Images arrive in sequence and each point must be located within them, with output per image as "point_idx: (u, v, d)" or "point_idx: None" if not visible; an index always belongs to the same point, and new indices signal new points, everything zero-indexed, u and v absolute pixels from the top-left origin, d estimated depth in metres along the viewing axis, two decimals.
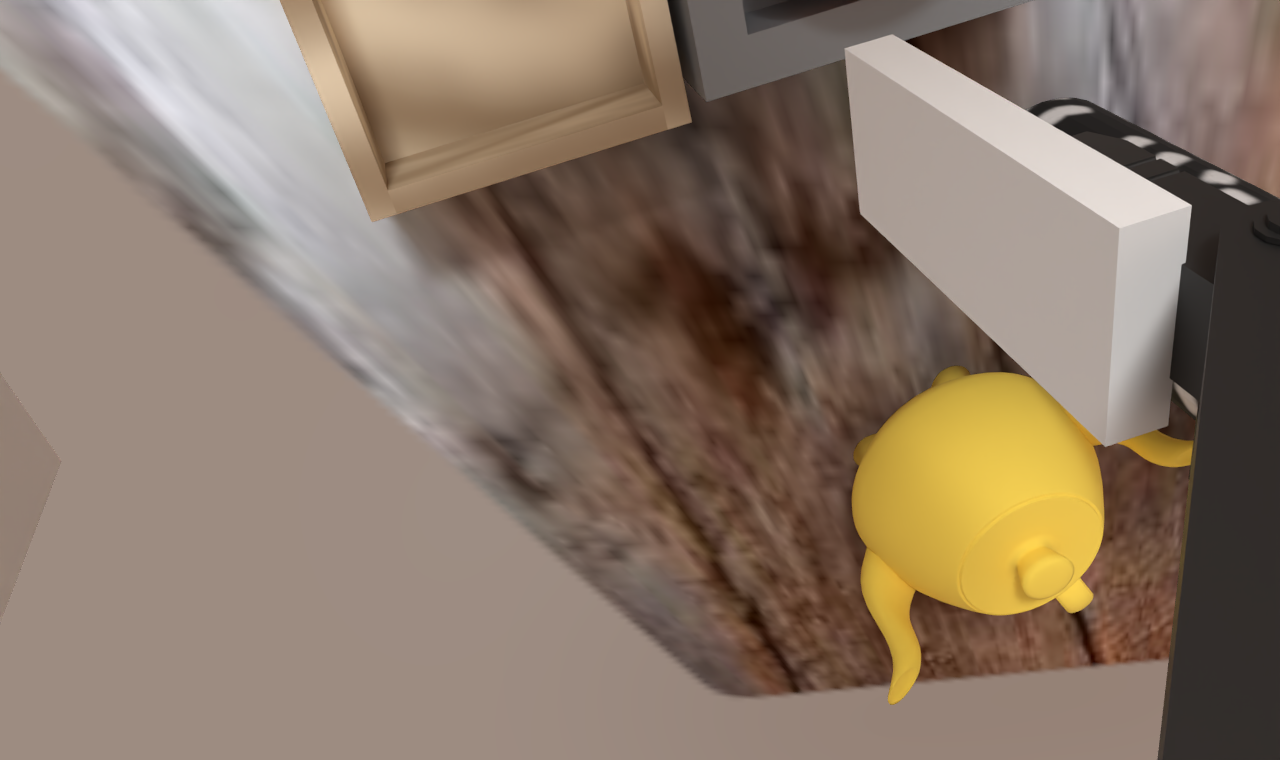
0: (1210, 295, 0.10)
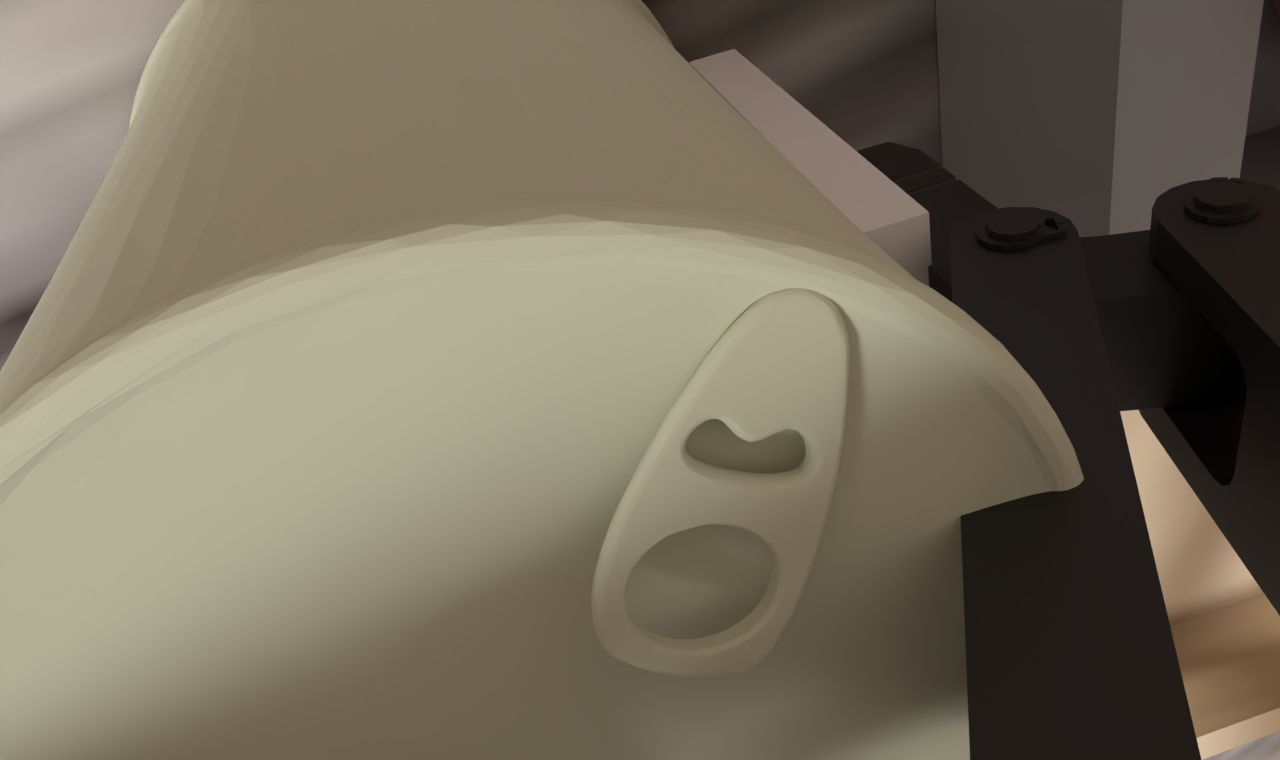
0: None
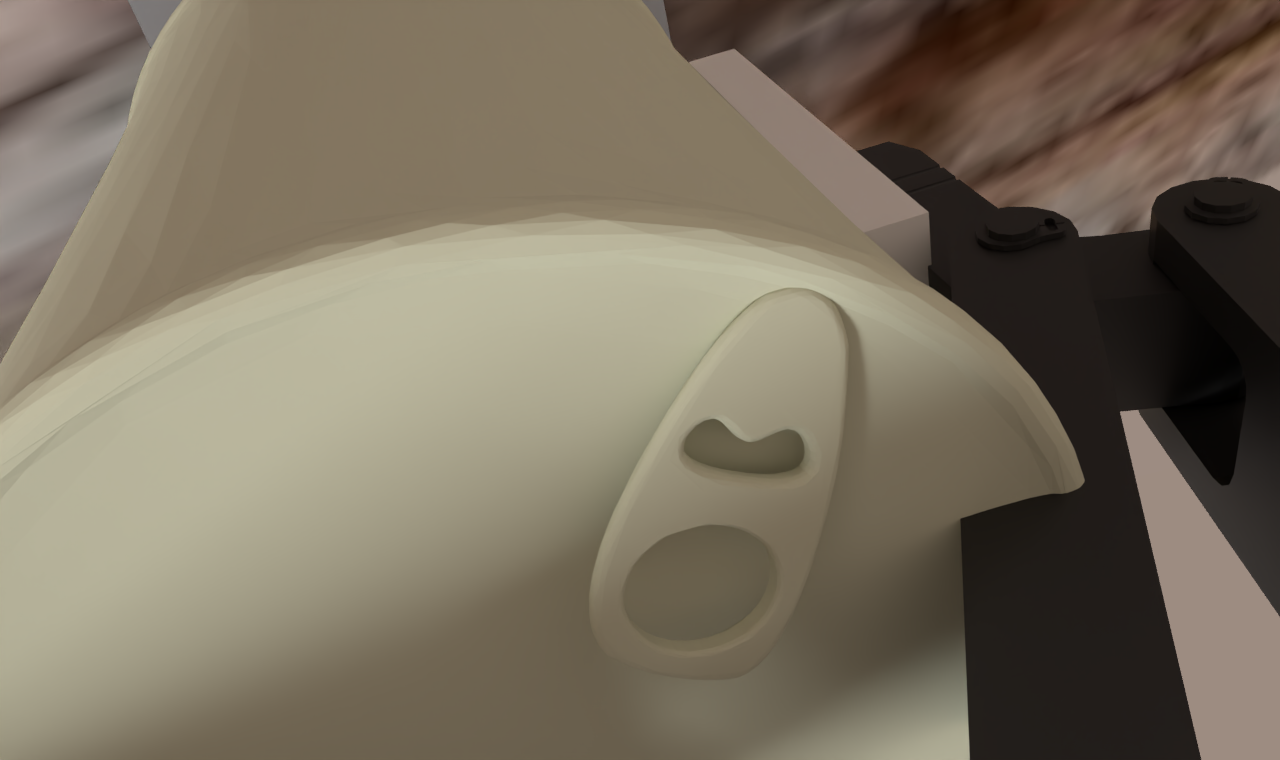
0: None
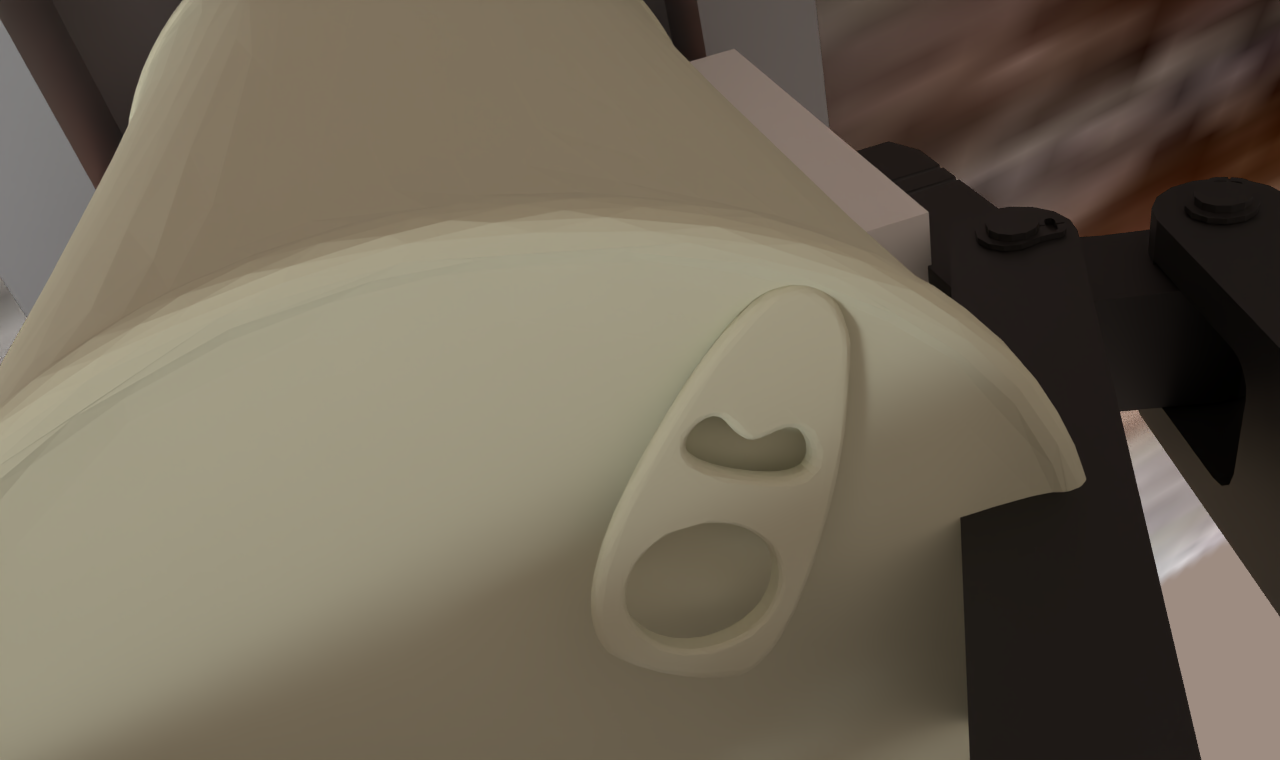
0: None
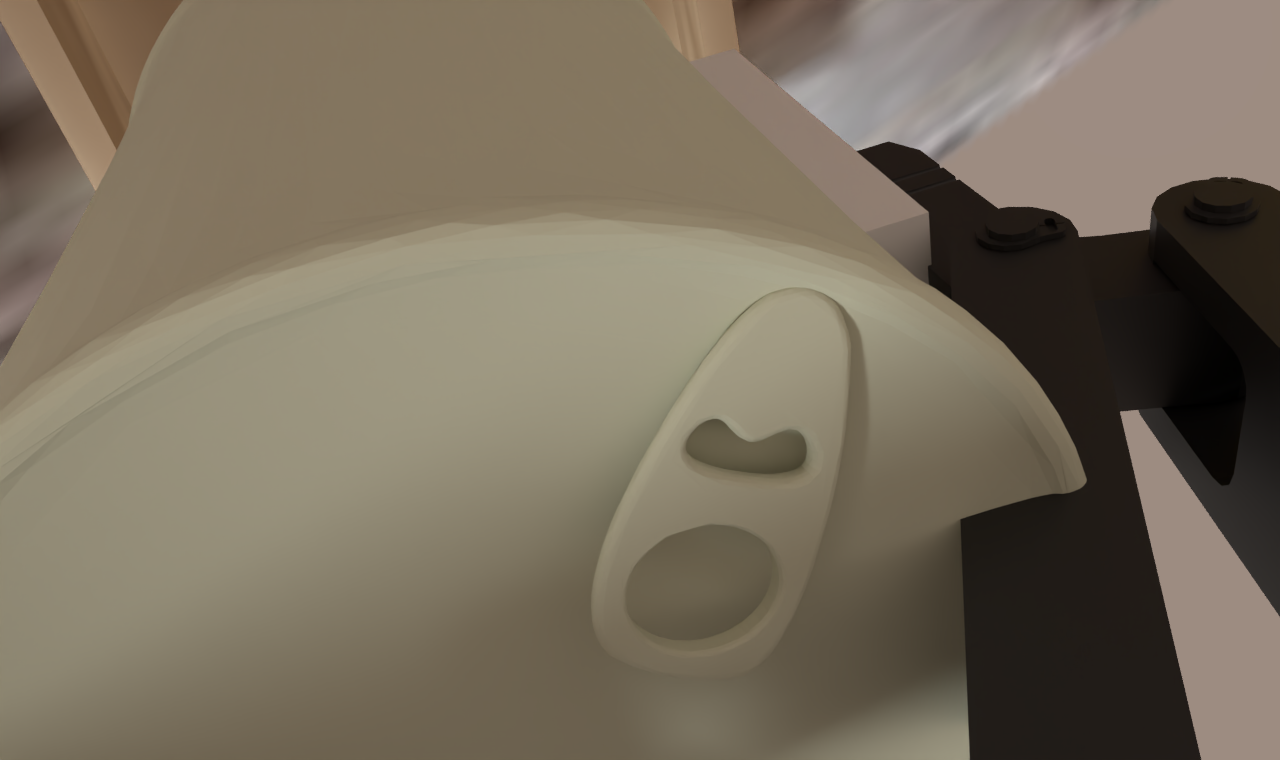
0: None
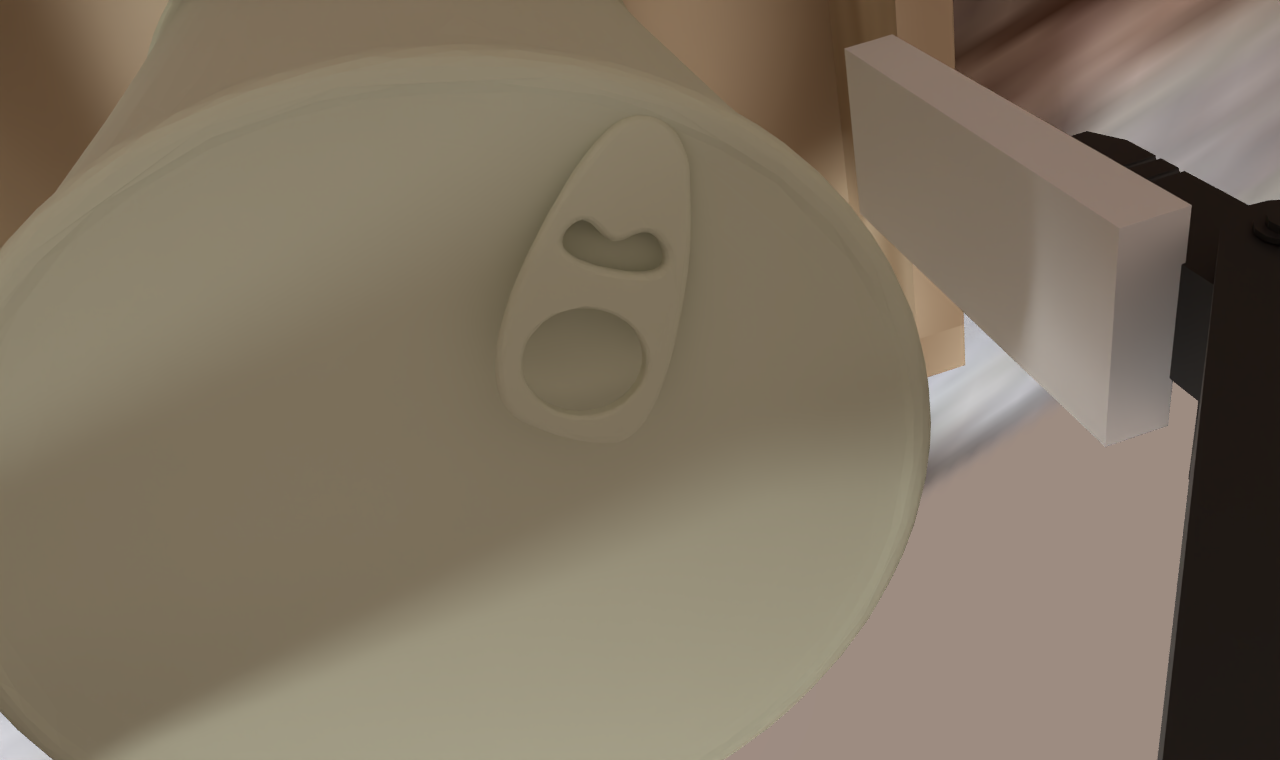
0: (1210, 294, 0.10)
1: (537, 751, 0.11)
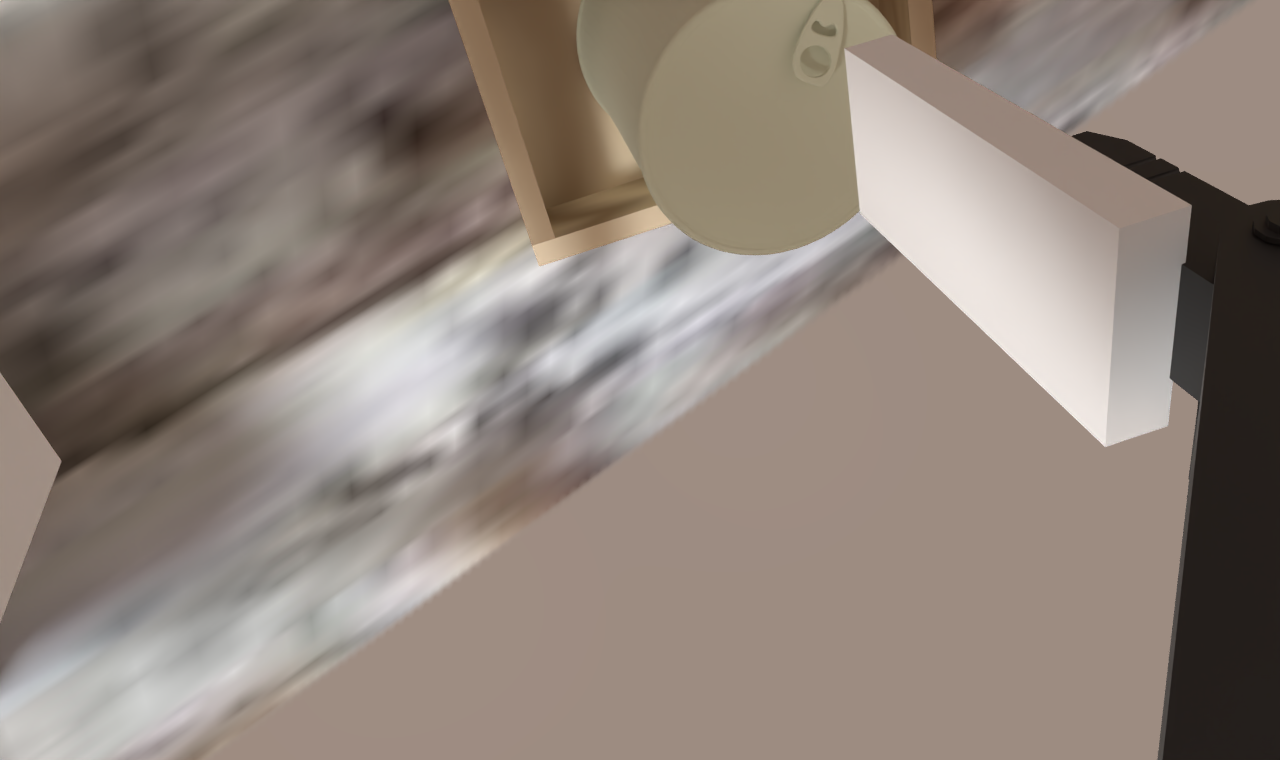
0: (1209, 294, 0.10)
1: (784, 212, 0.35)
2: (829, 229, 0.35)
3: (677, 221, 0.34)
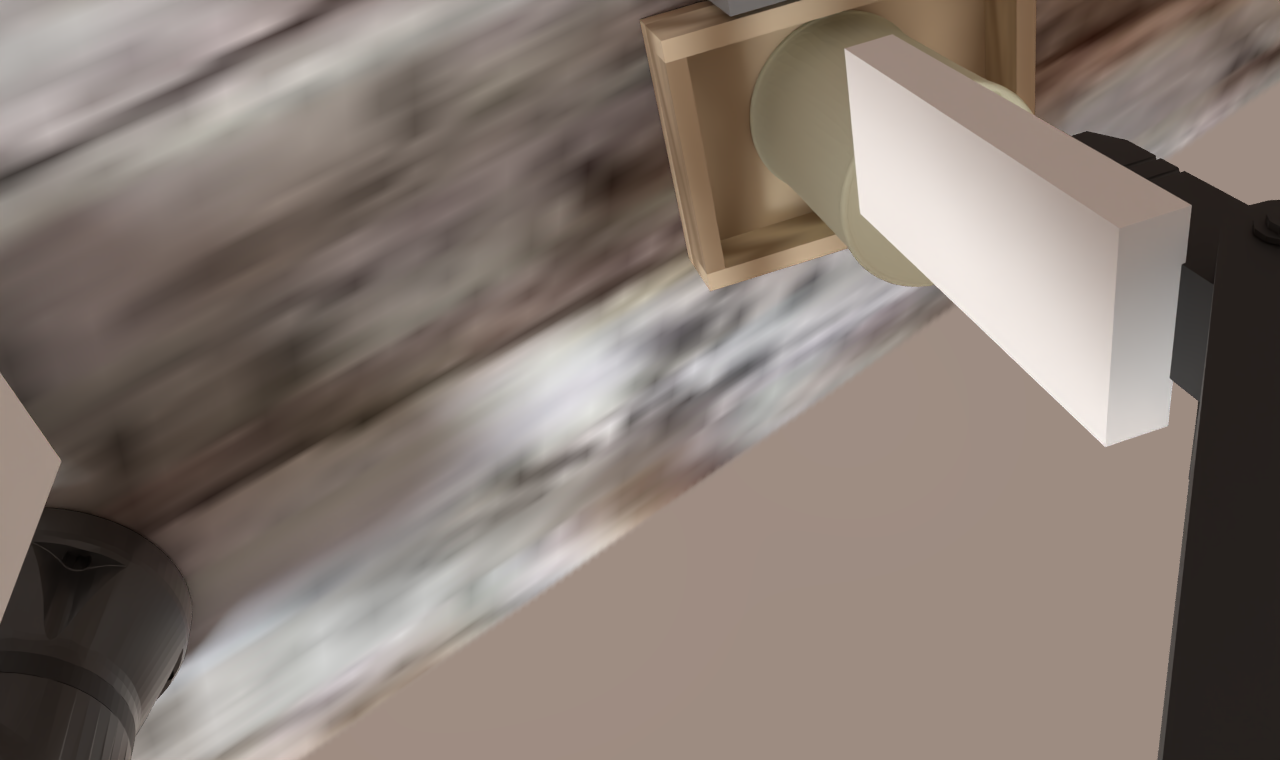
0: (1210, 294, 0.10)
1: None
2: None
3: (862, 260, 0.44)
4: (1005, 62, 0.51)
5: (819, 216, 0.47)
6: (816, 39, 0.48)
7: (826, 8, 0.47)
